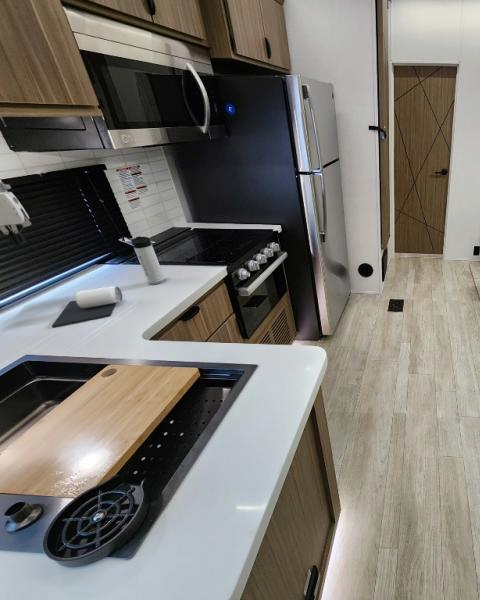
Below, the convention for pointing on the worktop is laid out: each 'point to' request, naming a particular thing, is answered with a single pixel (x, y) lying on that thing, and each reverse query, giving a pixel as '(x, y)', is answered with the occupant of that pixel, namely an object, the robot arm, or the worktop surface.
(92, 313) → the mat
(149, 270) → the travel mug
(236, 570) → the worktop surface
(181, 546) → the worktop surface
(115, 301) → the can
